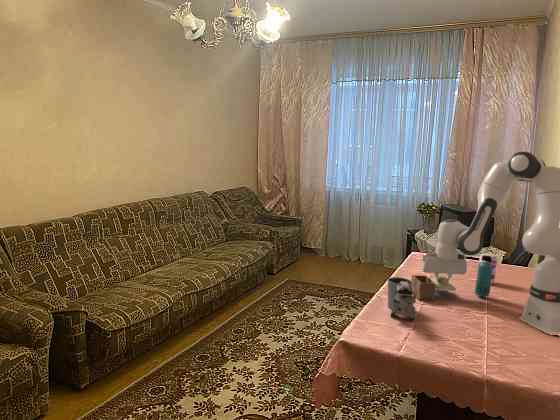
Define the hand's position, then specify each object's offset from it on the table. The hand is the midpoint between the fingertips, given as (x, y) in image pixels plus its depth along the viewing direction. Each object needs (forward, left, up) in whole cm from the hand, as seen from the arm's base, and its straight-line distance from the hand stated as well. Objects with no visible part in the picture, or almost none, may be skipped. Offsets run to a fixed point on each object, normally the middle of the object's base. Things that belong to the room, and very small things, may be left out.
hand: (442, 282), depth 207 cm
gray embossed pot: (-19, +26, -6) cm, 33 cm away
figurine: (-32, +28, -6) cm, 43 cm away
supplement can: (+22, -32, -6) cm, 39 cm away
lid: (0, 0, -2) cm, 2 cm away
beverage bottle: (-1, -19, -6) cm, 20 cm away
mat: (0, 0, -6) cm, 6 cm away
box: (-3, +10, -6) cm, 12 cm away
